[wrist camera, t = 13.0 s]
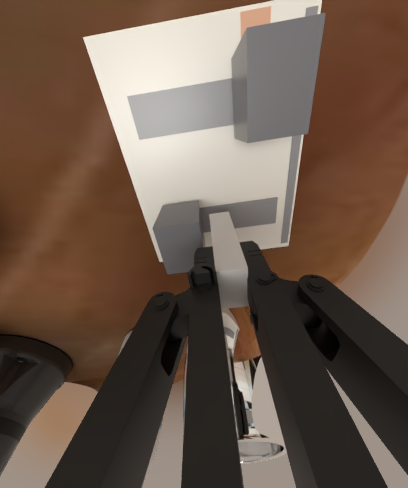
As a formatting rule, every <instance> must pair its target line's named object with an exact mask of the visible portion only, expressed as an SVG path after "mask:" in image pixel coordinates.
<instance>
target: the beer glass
mask: <svg viewBox="0 0 408 488" xmlns="http://www.w3.org/2000/svg"><path fill="white" fill-rule="evenodd" d="M221 310H222V317H223V325H224V333H225V341H226V349H227V357H228V365H229V373H230V381H231V389H232V397H233V405H234V413H235V421H236V429H237V437H238V445H239V453H240V461H241V464H245V463H254V462H260V461H266V460H270V459H274V458H277V457H280V456H282V455H284V454H286V453H287V451H286V447H285V443H284V439H283V436H282V432H281V428H280V424H279V421H278V417H277V413H276V409H275V406H274V402H273V398H272V394H271V391H270V387H269V383H268V379H267V375H266V372H265V368H264V364H263V360H262V357H261V353H260V349H259V345H258V342H257V338H256V334H255V330H254V327H253V324H250V318H249V316H248V314H247V312H246V310H245V307H237V308H228V309H221ZM187 356H188V345H187V351H186V357H185V367H184V382H183V440H184V419H185V398H186V377H187Z"/></svg>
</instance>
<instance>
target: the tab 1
mask: <svg viewBox="0 0 408 488" xmlns="http://www.w3.org/2000/svg"><path fill="white" fill-rule="evenodd" d="M152 229H153V232H154V235H155V238H156V241H157V244H158V247H159V250H160V253H161V256H162V259H163V263H164V266H165V269H166V272H167V275H168V274H177V273H185V272H189V271H190V270H191V269H192V268H193V267H194V253H195V251H196V250H197V248H202V247H205V238H204V232H203V225H202V219H201V213H200V206H199V200H198V201H191V202H184V203H177V204H170V205H163V206H162V208H161V210H160V212H159V215H158V217H157V219H156V221H155V223H154V226H153V228H152Z"/></svg>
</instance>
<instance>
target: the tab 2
mask: <svg viewBox="0 0 408 488" xmlns="http://www.w3.org/2000/svg"><path fill="white" fill-rule="evenodd" d="M325 14H326V13H322V14H317V15H311V16H306V17H301V18H295V19H290V20H285V21H279V22H274V23H269V24H263V25H258V26H253V27H247V28H246V30H245V32H244V34H243V36H242V38H241V40H240V42H239V44H238V46H237V48H236V50H235V52H234V54H233V56H232V58H231V63H232V88H233V113H234V138H235V139H237V140H240V141H243V142H246V143H252V142H258V141H265V140H271V139H278V138H284V137H291V136H297V135H304V134H308V130H309V123H310V116H311V109H312V103H313V96H314V89H315V82H316V75H317V69H318V62H319V55H320V48H321V41H322V35H323V28H324V21H325Z"/></svg>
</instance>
